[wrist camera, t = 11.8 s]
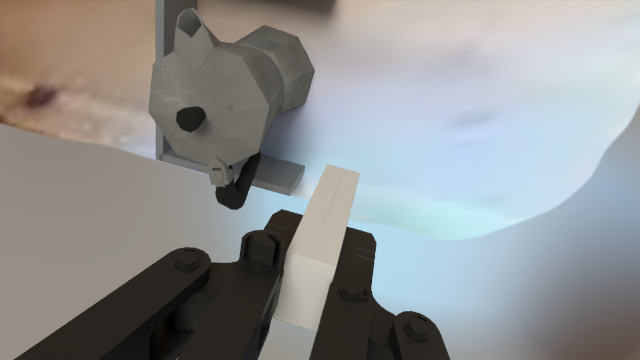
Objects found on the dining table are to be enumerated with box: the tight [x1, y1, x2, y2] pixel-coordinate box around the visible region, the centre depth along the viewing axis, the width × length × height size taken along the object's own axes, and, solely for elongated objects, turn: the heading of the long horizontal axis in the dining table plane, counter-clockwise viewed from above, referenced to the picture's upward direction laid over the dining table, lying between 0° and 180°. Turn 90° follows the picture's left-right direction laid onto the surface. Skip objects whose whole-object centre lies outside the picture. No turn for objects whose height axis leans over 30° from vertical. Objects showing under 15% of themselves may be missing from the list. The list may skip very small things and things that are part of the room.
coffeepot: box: [149, 8, 314, 210], centre depth 34 cm, size 15×9×18 cm, turn 5°
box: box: [156, 0, 305, 196], centre depth 39 cm, size 15×20×6 cm
